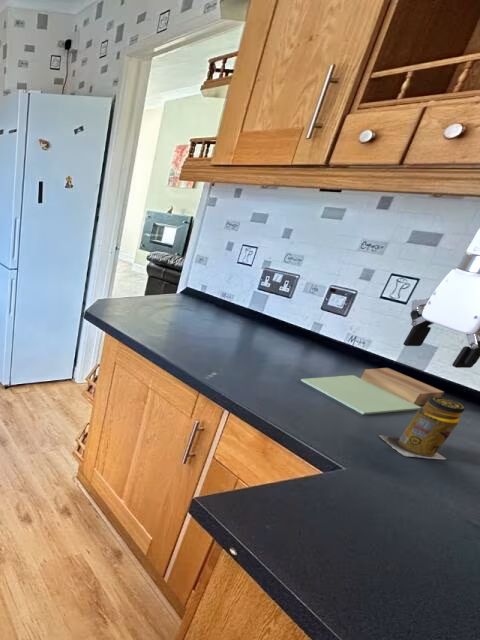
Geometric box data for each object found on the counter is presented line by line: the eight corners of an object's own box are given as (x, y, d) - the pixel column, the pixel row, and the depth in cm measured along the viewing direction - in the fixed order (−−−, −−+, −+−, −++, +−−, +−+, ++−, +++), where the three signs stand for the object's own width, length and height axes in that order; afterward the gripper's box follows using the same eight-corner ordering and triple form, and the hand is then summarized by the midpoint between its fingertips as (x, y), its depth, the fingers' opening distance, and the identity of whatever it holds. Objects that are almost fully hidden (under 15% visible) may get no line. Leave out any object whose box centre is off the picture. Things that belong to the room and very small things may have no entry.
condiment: (446, 459, 88) (481, 412, 82) (403, 456, 88) (436, 409, 83) (417, 439, 94) (448, 394, 88) (377, 436, 95) (405, 391, 89)
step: (381, 378, 121) (388, 367, 119) (436, 403, 109) (444, 391, 107) (359, 380, 120) (365, 369, 118) (412, 405, 108) (419, 393, 106)
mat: (352, 376, 121) (353, 375, 121) (420, 409, 106) (422, 407, 106) (300, 380, 118) (301, 378, 118) (363, 414, 103) (364, 412, 103)
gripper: (576, 279, 64) (505, 376, 72) (459, 256, 79) (412, 338, 87) (528, 279, 64) (462, 376, 72) (421, 255, 79) (377, 338, 87)
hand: (435, 355), depth 80 cm, fingers open, 9 cm apart
